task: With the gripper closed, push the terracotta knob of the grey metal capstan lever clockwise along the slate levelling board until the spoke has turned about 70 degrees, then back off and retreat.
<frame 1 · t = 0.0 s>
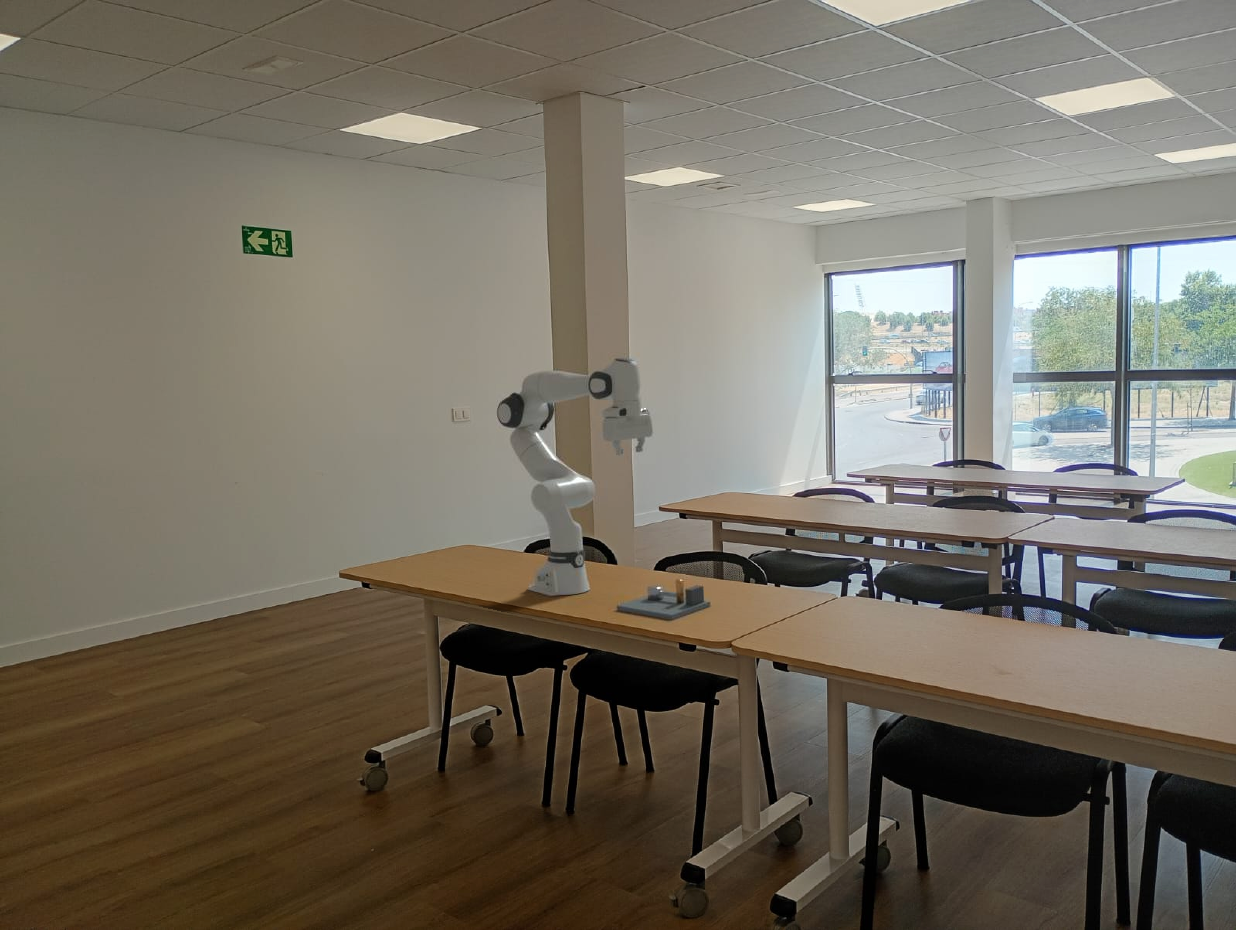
hand: (629, 453, 302), 48 cm above the table, fingers open, 8 cm apart
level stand: (663, 608, 296), on the table
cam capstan: (665, 588, 299), point 5 cm above the table, hinge at 0.0°
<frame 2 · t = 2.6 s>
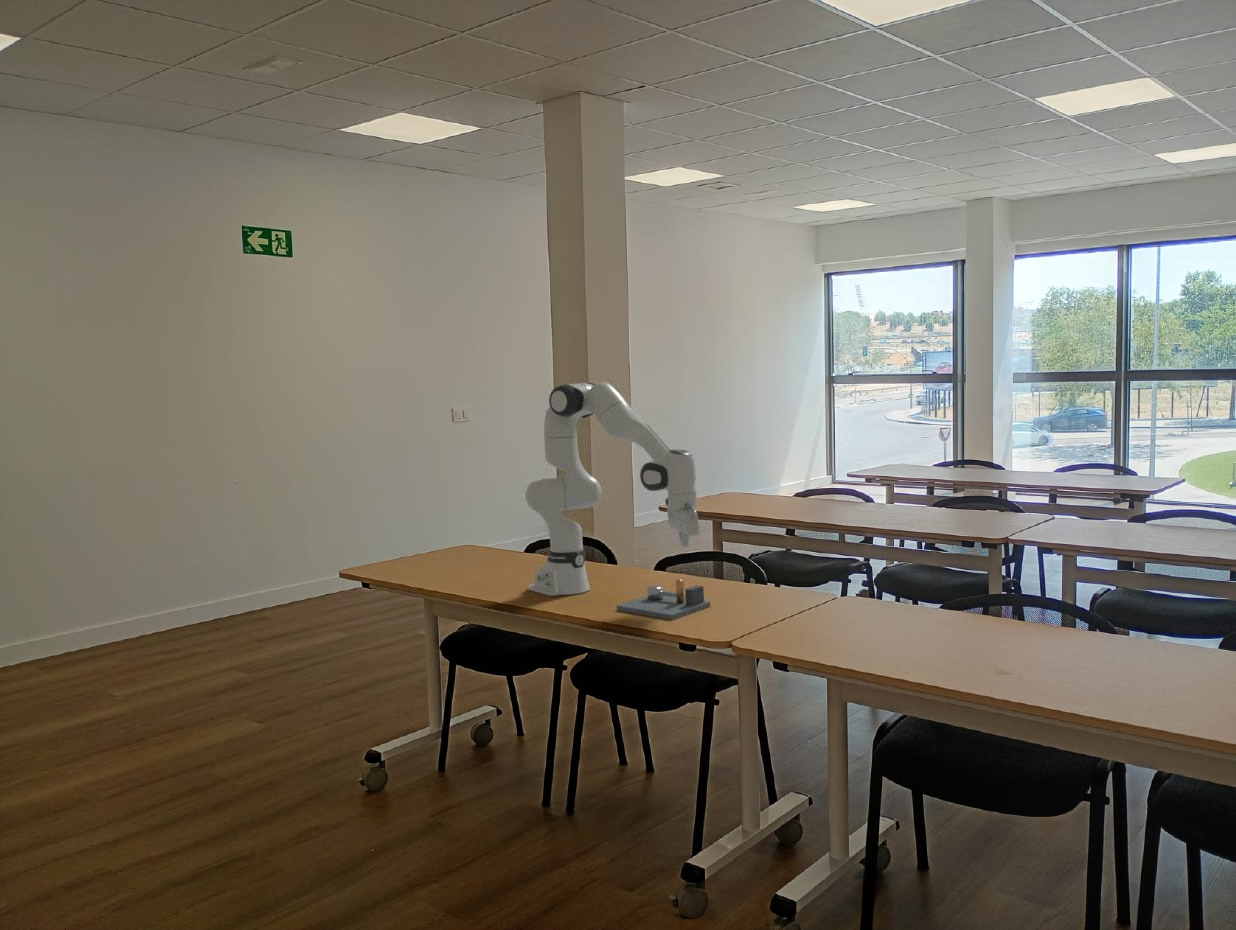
hand: (684, 545, 298), 19 cm above the table, fingers closed
nothing on the table moved.
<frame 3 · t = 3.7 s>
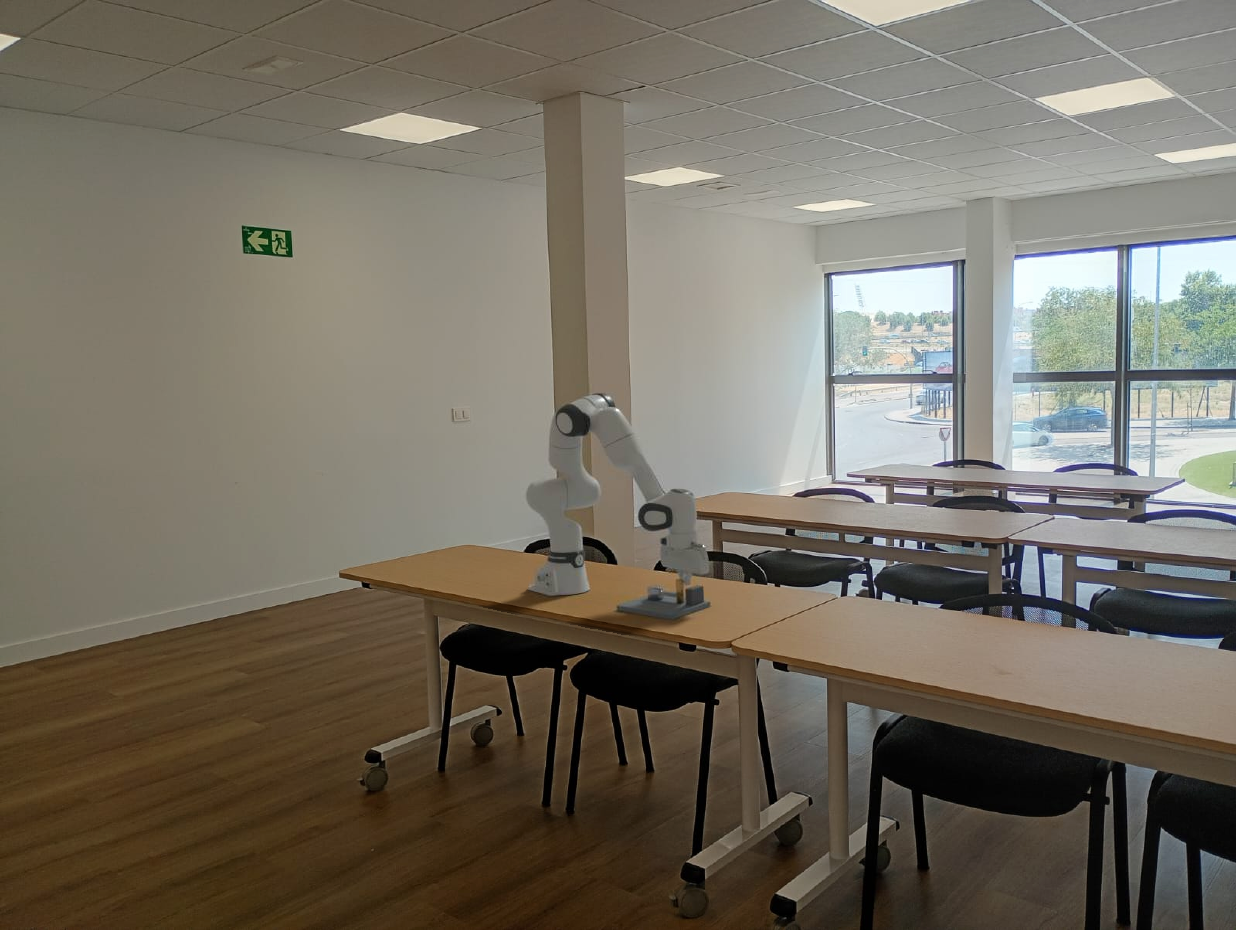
hand: (685, 584, 299), 6 cm above the table, fingers closed
nothing on the table moved.
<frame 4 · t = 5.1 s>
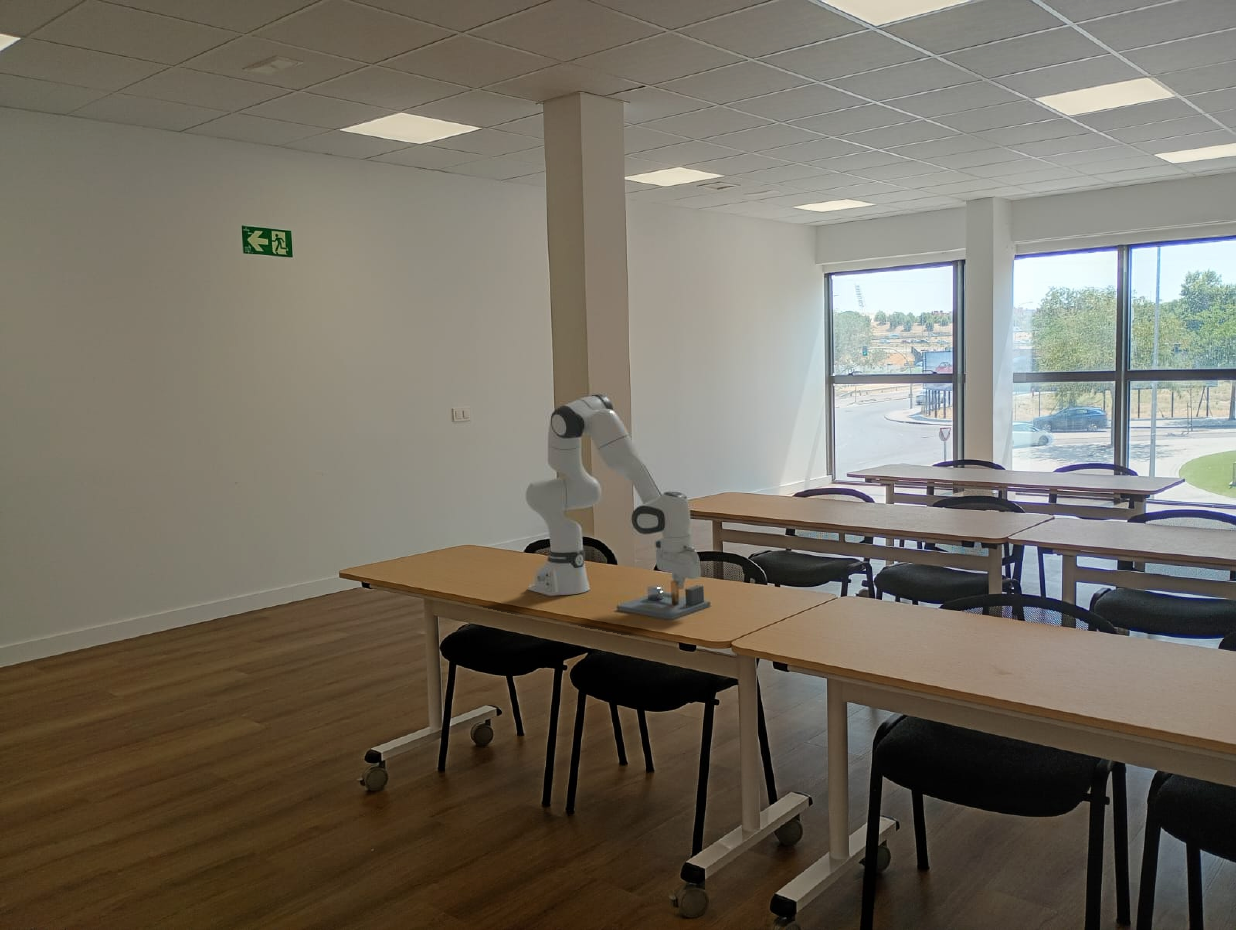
hand: (679, 588, 295), 6 cm above the table, fingers closed, pressing on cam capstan
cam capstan: (663, 589, 299), point 5 cm above the table, hinge at 12.5°, touching gripper
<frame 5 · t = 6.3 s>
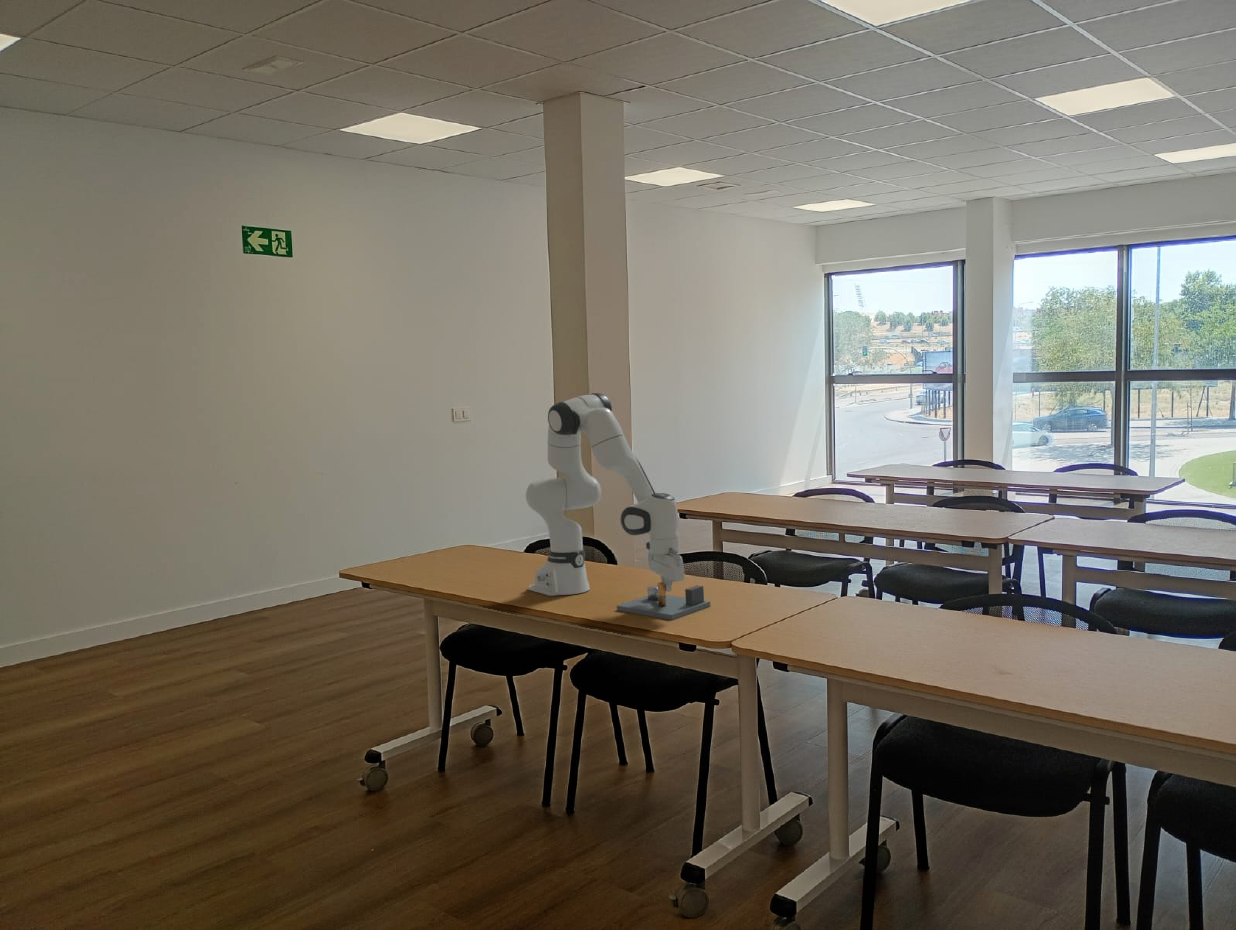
hand: (667, 590, 293), 6 cm above the table, fingers closed, pressing on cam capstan
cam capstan: (658, 590, 298), point 5 cm above the table, hinge at 38.5°, touching gripper
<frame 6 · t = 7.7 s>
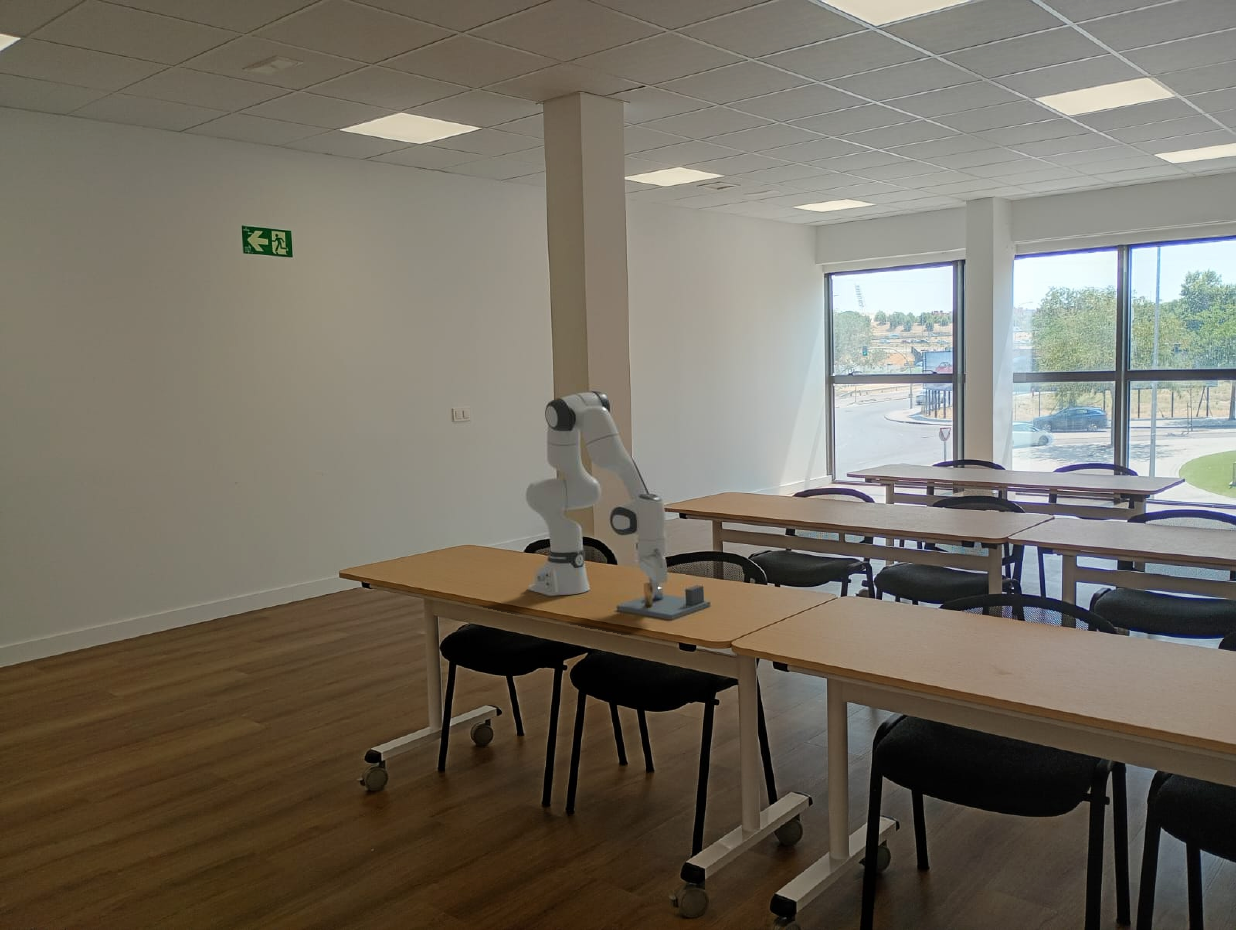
hand: (654, 591, 293), 6 cm above the table, fingers closed, pressing on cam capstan
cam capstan: (652, 590, 298), point 5 cm above the table, hinge at 62.7°, touching gripper
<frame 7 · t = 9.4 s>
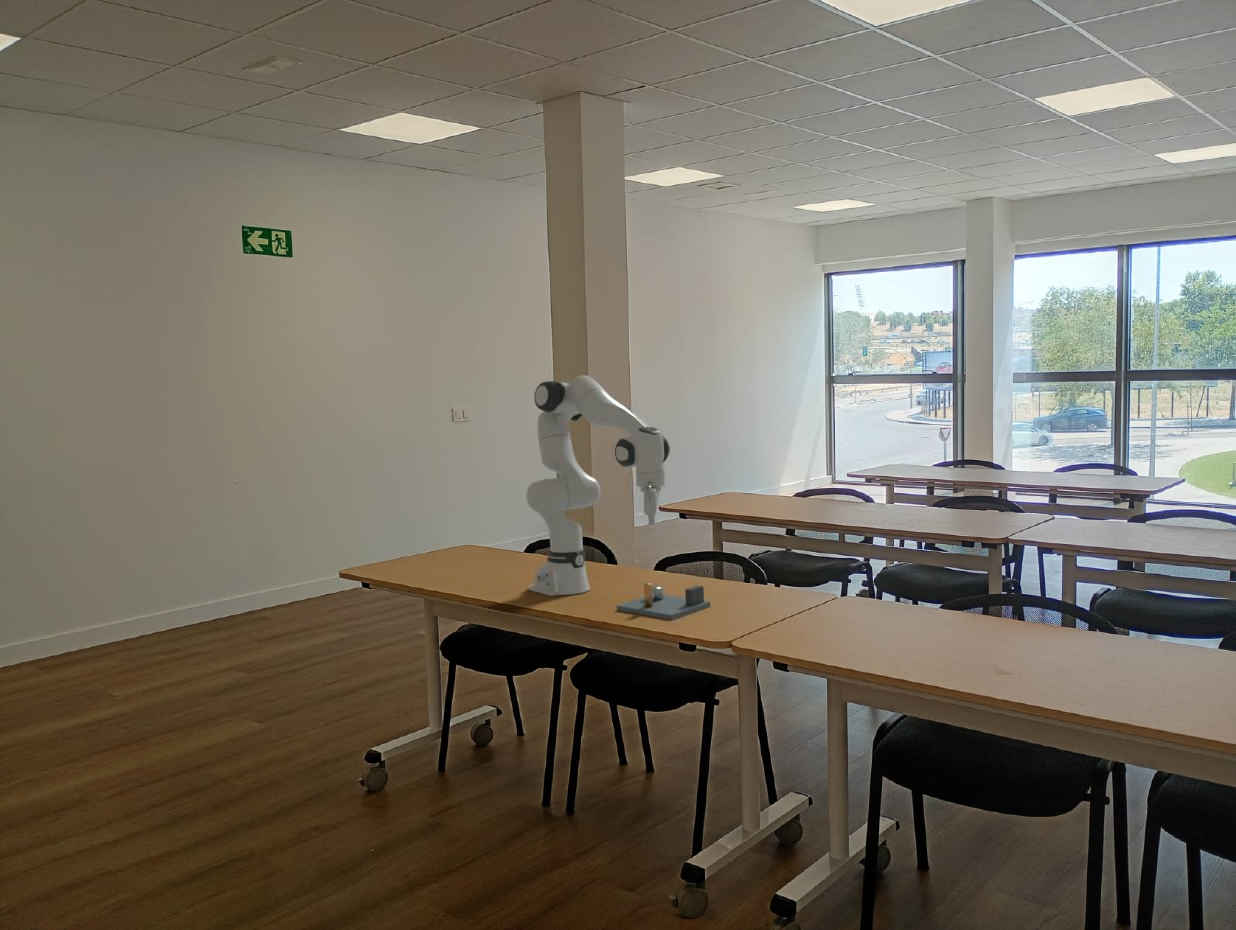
hand: (651, 523, 297), 26 cm above the table, fingers closed
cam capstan: (652, 590, 298), point 5 cm above the table, hinge at 62.7°
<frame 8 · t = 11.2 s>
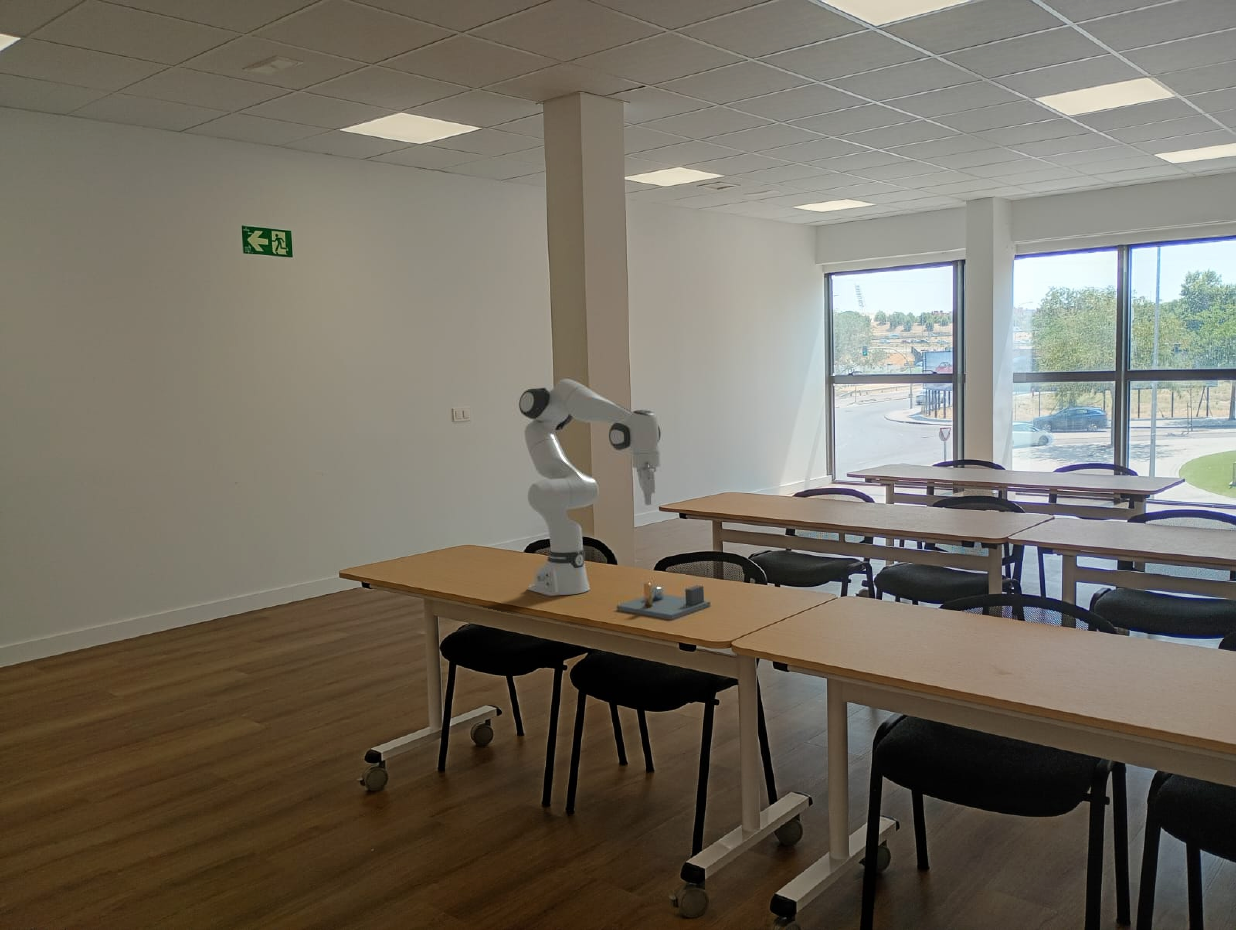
hand: (648, 504, 304), 31 cm above the table, fingers closed
nothing on the table moved.
at the end: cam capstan at +63° (first picture: +0°) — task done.
